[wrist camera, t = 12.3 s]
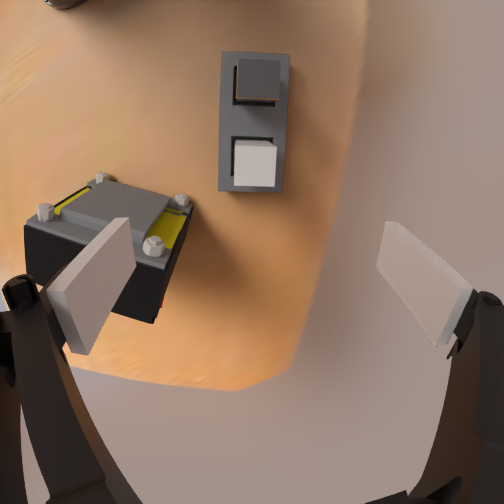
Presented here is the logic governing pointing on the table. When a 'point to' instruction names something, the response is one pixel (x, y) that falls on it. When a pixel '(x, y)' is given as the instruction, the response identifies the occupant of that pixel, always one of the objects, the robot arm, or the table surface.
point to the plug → (258, 81)
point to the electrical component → (94, 221)
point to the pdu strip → (250, 120)
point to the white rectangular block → (254, 163)
